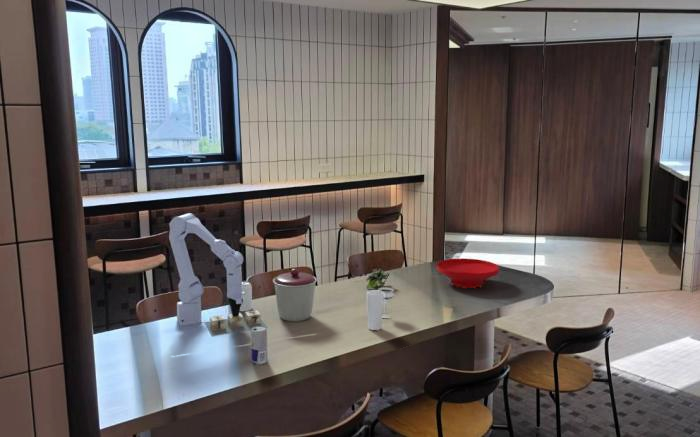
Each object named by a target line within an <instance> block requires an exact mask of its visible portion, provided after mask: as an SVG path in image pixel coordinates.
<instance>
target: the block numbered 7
mask: <svg viewBox="0 0 700 437" xmlns="http://www.w3.org/2000/svg"><path fill="white" fill-rule="evenodd" d="M244 317H245V322H246V323H247V324H248V326H249V325H256V324H261V320H262V319H261V313H260V312H259V310H249V311H244ZM260 319H261V320H260Z"/></svg>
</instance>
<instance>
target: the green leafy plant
mask: <svg viewBox="0 0 700 437" xmlns="http://www.w3.org/2000/svg"><path fill="white" fill-rule="evenodd" d="M371 271H372V272H371V273H370V274H368V276H367V278H365V282H366V283H367V285H366V289H367V290H368V289H371V288H372V289H373V288H375V287H377V286H378V285H380V287H381V288H382V287H385V283H386V281H387V279H388V278H389V276H390V272H389V271H387V272H386V271H384V270H382V268H374V269H371ZM383 280H384V281H383Z"/></svg>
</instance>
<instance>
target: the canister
mask: <svg viewBox="0 0 700 437" xmlns="http://www.w3.org/2000/svg"><path fill="white" fill-rule="evenodd" d="M317 281H318V279H317V278H316V277H315V276H313V275H312V274H310V273H307V272H300V270H299V269H298V268H292V269H291V270H290V272H285V273H281V274H279V275H277V276H276V277H274V278H273V279H272V283H273V284H274V291H275V298H276V306H277V311H278V316H280V317H279V318H281V319H282V320H283V321H286V322H293V323H294V322H302V321H306V320H308V319H309V318H310V317H311V315H312V312H313V306H314V298H315V290H316V289H315V288H316V283H317Z"/></svg>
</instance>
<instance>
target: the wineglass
mask: <svg viewBox="0 0 700 437" xmlns="http://www.w3.org/2000/svg"><path fill="white" fill-rule="evenodd" d="M377 290H380V291H382V292H383V293H384V314H382V318H390V316H391V315H389V314H387V303H388V302H390V301H391V300H393V298H394V295H395V293H394V291H395V289H393V288H392V287H386V286H384V287H382V286H381V287H378V288H377ZM388 315H389V316H388ZM390 319H391V318H390Z"/></svg>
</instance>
